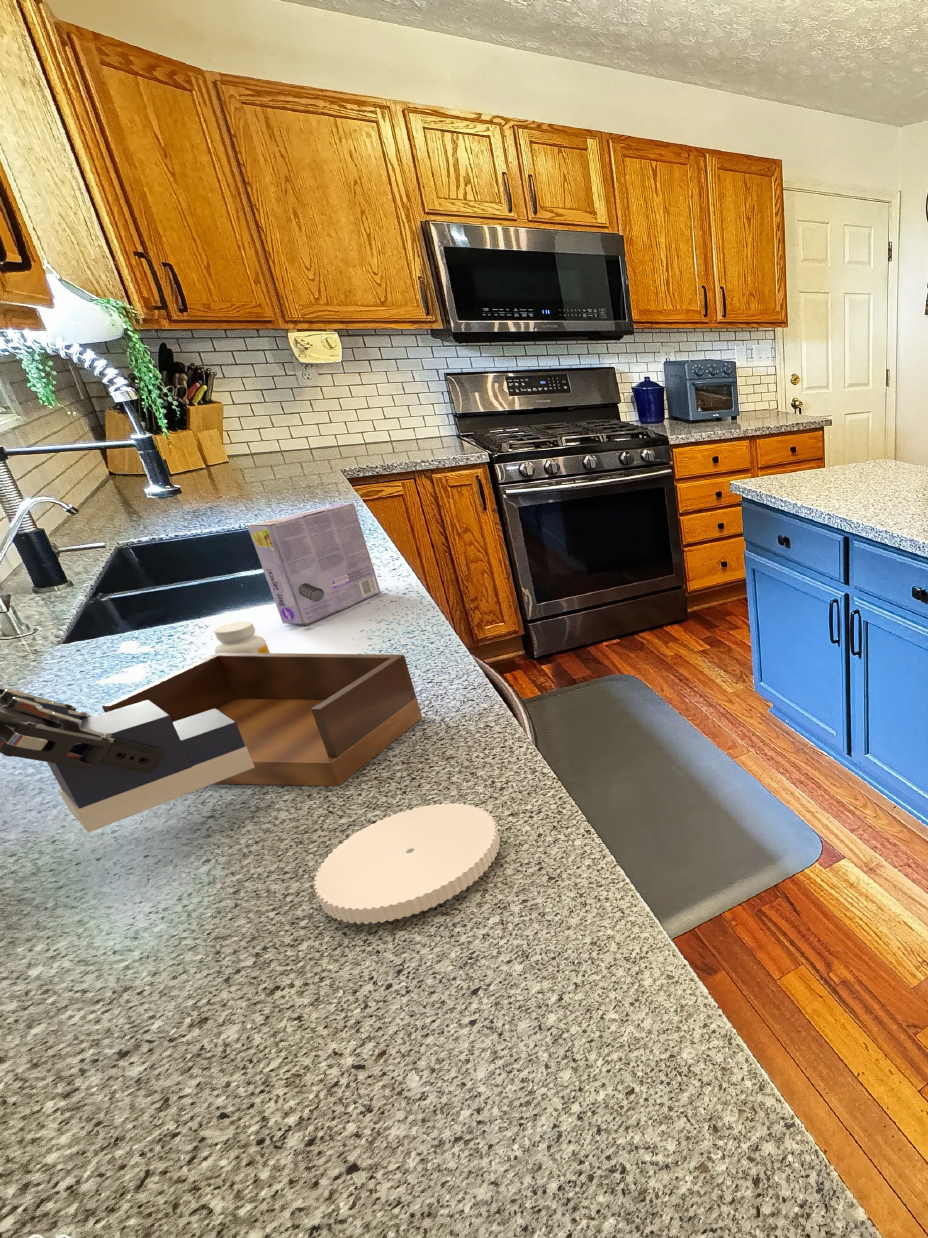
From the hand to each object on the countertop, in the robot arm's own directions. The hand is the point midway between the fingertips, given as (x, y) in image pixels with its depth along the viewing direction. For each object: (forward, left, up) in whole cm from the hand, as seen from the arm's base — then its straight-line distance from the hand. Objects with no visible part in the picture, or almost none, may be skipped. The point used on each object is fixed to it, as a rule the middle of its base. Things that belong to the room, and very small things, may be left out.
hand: (146, 751), depth 64 cm
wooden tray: (-3, +16, -10) cm, 19 cm away
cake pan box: (-32, +63, -10) cm, 71 cm away
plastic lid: (+26, -5, -10) cm, 28 cm away
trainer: (0, 0, -4) cm, 4 cm away
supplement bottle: (-19, +30, -10) cm, 37 cm away
